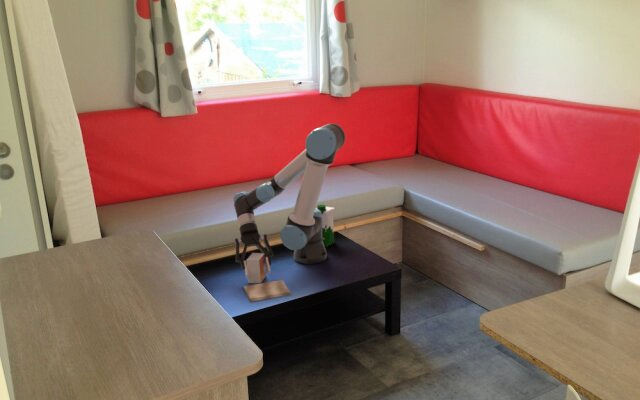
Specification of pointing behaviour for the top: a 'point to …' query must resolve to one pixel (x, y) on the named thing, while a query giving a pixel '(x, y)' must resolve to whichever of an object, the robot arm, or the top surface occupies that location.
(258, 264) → the small box
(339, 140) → the robot arm
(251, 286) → the birch board
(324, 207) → the milk carton
